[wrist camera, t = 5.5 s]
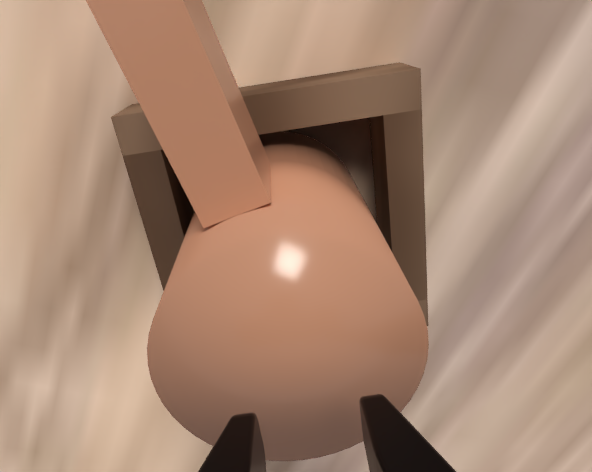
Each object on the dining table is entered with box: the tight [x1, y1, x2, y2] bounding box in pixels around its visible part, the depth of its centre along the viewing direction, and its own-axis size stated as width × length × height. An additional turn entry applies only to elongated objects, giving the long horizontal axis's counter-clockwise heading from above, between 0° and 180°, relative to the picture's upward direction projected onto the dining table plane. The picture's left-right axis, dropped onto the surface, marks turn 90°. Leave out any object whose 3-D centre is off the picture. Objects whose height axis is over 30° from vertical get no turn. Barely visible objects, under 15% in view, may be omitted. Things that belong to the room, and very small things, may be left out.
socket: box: [111, 63, 428, 326], centre depth 17 cm, size 9×9×2 cm
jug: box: [86, 0, 429, 461], centre depth 13 cm, size 11×6×9 cm, turn 21°
